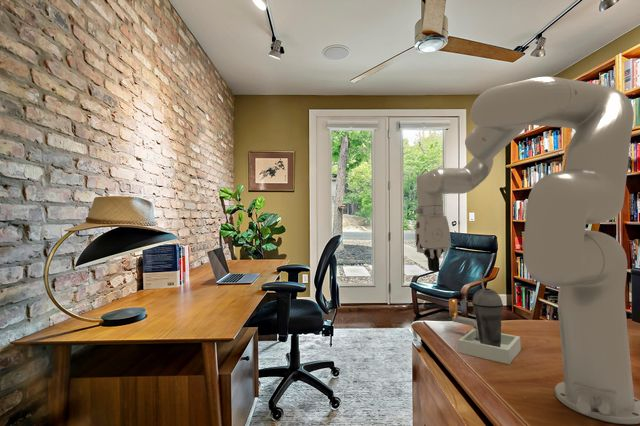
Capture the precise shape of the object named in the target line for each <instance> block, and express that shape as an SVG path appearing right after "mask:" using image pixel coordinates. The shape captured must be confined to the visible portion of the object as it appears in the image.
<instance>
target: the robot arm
mask: <svg viewBox="0 0 640 426" xmlns="http://www.w3.org/2000/svg"><path fill="white" fill-rule="evenodd" d="M471 105H472V106H471V109H470V120H471V122H472V123H473V124H474V125H475V127H474V128H473V129H472V130H471V132H470V133H468V134H467V136H466V137H465V141H464V143H465V144H464V145H465V148H466V150H467V151H468V153H470V155H471V156H473V158H472V159H471V160H470V161H469V162H468V163H467V164H466V165H465V166H464V167H463V168H462V167H461V168H458V167H452V168H451V167H437V168H433V169H432V170H430V171H428V172H424V173H420V174H418V175H417V176H416V193H417V194H416V195H417V196H416V197H417V209H414V210H415V211H414V213H415V214H417V217H416V221H415V228H414V229H415V233H414V237H415V238H414V240H415V246H416V252H417V253H420V254H423V255H424V256H425V258H427V266H428V267H427V268H428V271H431V272H440V259H441V257H442V255H443V253H446V252H448V251H449V247H451V244H452V243H451V242H452V240H451V232H450V225H449V221H448V219H447V216H445V215H444V213H445V212H444V200H443V199H444V198H443V195H446V194H447V195H449V194H452V195H453V194H455V195H456V194H458V195H459V194H460V195H461V194H466V193H469V192H471V191H473V190H474V189H475V188H476V187H478V186H479V185H480V184H481V183H482V182H484V181H485V180H486V179H487V177H488V176H489V175H490V173H491V170H492V168H493V165H494V158H495V157H496V156H497V155H498V154H499V153H501V151H503V149H504V148H506V147H507V146H508V145H509V144H510V143H511V142H513V141H514V139H515V138H517V136H518V135H520V134H521V133H522V132H523V131H524V130H525V129H526V128H527V127H529V126H541V127H542V126H544V127H551V128H552V127H553V128H567V129H571V130H574V131H575V132H574V134H573V136H572V137H571V139H570V141H569V143H568V145H567V149H566V153H565V165H564V170H561V171H560V170H559V171H555V172H554V171H553V172H551V173H548V174H545V176H543V177H541V178H540V179H538V181H536V182H535V184H534V185H533V186H532V188H531V191H530V192H529V195H528V198H527V202H526V211H525V221H524V232H523V233H524V234H523V244H522V245H523V246H522V247H523V248H522V256H523V262H524V266H525V269H526V271H527V272H528V274H529V276H531V277H532V279H534V280H535V281H536V282H538V283H540V284H542V285H544V286H548V287H553V288H554V287H555V288H559V289H558V295H557V309H558V310H557V312H558V314H557V315H558V323H559V324H558V325H559V336H560V346H561V347H560V349H561V350H560V351H561V360H562V371H563V372H562V373H563V380H564V381H561V382H558V383H557V384H556V385H555V387H554V394H555V396H556V398H557V399H558V400H559V402H561V403H562V404H563V405H565V406H566V407H567V408H569V409H571V410H573V411H575V412H577V413H578V414H581V415H584V416H587V417H589V418H592V419H595V420H599V421H601V422H602V421H603V422H608V423H612V424H620V425H637V424H640V400H639V399H638V398H637V397H635V395H634V384H633V374H632V364H631V355H630V353H631V352H630V343H629V334H628V333H629V331H628V323H627V321H628V320H627V311H626V282H627V276H628V275H627V273H628V258H627V253H626V251H625V249H624V247H623V246H622V245H621V243H620V242H619V241H618V240H617V239H616V238H614V237H613V236H611V235H609V234H607V233H604V232H601V231H597V230H586V225H593V224H601V223H606V222H608V221H609V222H610V221H611V220H613V219H615V218H616V217H617V216H618V215H619V214H620V213H621V211H622V210H623V207H624V201H625V195H626V185H627V176H628V167H629V155H630V145H631V138H632V133H633V128H634V120H635V119H634V117H635V115H634V114H635V113H634V107H633V104H632V101H630V98H629V97H628V96H626V94H625V93H623V92H622V91H621V90H618V89H615V88H613V87H610V86H607V85H604V84H598V83H594V82H588V81H582V80H577V79H570V78H569V79H568V78H562V77H557V76H537V77H531V78H528V79H524V80H519V81H516V82H509V83H506V84H502V85H497V86H494V87H491V88H488V89H486V90H485V91H483V92H482V93H480V94H479V95H478V97H476V99H475V100H474V102H473V104H471Z"/></svg>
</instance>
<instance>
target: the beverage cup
mask: <svg viewBox="0 0 640 426" xmlns="http://www.w3.org/2000/svg"><path fill="white" fill-rule="evenodd" d="M478 273H479V278H480V279H479V280H480V283H481V288H480V289H478V290H477V291H475V293H474V294H473V296H472V303H471V304H472V307H473V310H474V314H475V320H476V321H477V327H478V333H479V340H480V343H481V344H486V345H491V346H496V347H500V346H501V333H502V313H503V306H504V304H503V300H502V298H501V296H500V295H499V293H497V292H496V291H495V290H494V289H491V288H487V287H486V288H485V285H484V281H483V280H484V279H483V275H482V271H478Z"/></svg>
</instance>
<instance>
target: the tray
mask: <svg viewBox="0 0 640 426" xmlns="http://www.w3.org/2000/svg"><path fill="white" fill-rule="evenodd" d="M469 331H470V332H468V331H467V332H468V333H467V332H466V333H467V334H466V333H465V334H464V335H463V336H462V337H460V338H459V339H458V349H459V350H458V352H459V354H460V353H461V354H463V355H468V356H471V357H472V356H473V357H476V358H480V359H485V360H488V361H492V362H497V363H501V364H506V365H511V363H512V361H513V360H514V359H515V358H516V357H517V356H518V354H519V353H520V352H521V350H522V345H521V344H522V343H521V336H518V335H513V334H508V333H507V334H506V333H502V332H501V346H500V347H496V346H491V345H486V344H481V343H480V341H477V340H475V338H476V337H478V338H479V333H478V329H475V328H473V329H471V330H469Z"/></svg>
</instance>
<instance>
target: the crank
mask: <svg viewBox="0 0 640 426" xmlns="http://www.w3.org/2000/svg"><path fill="white" fill-rule="evenodd" d="M448 306H449V307H448V309H449V317H451V322H453V323H458V324H462V325H466V326H471V327H473V329H478V327H477V321H476V318H475V319H473V318H468V317H465V316H459V313H458V312H459V311H458V299H457V298H449V299H448Z"/></svg>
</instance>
